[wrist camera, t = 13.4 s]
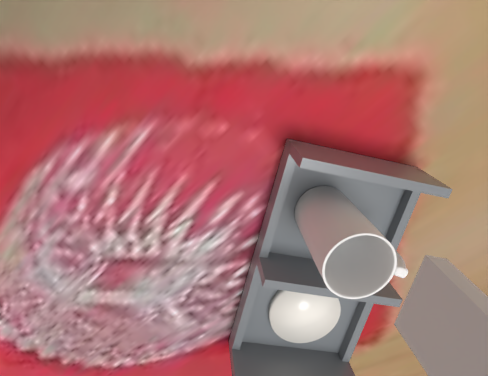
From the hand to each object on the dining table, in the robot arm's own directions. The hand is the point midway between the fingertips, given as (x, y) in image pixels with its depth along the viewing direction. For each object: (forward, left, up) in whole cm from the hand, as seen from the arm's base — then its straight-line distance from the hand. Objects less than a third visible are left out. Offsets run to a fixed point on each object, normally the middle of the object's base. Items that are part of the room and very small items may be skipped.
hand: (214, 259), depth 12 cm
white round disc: (+18, -23, -31) cm, 42 cm away
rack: (+18, -16, -32) cm, 40 cm away
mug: (+18, -10, -31) cm, 37 cm away
